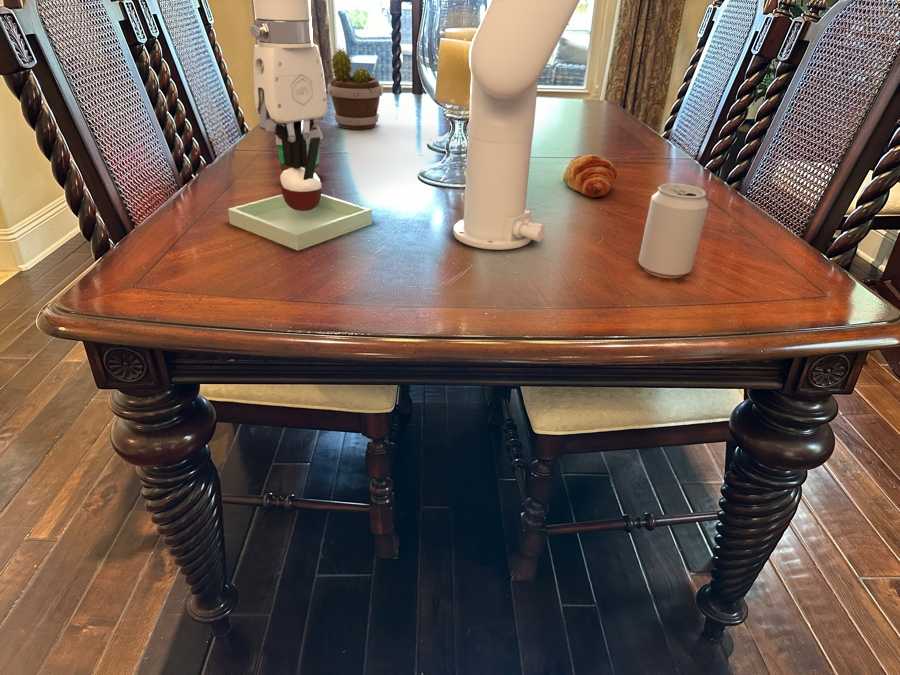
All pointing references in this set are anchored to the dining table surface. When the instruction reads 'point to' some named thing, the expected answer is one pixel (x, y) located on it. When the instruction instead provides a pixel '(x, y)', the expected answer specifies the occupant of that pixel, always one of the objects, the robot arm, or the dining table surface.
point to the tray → (300, 220)
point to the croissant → (590, 175)
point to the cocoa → (303, 182)
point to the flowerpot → (353, 94)
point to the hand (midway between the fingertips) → (296, 165)
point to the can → (673, 230)
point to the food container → (313, 134)
